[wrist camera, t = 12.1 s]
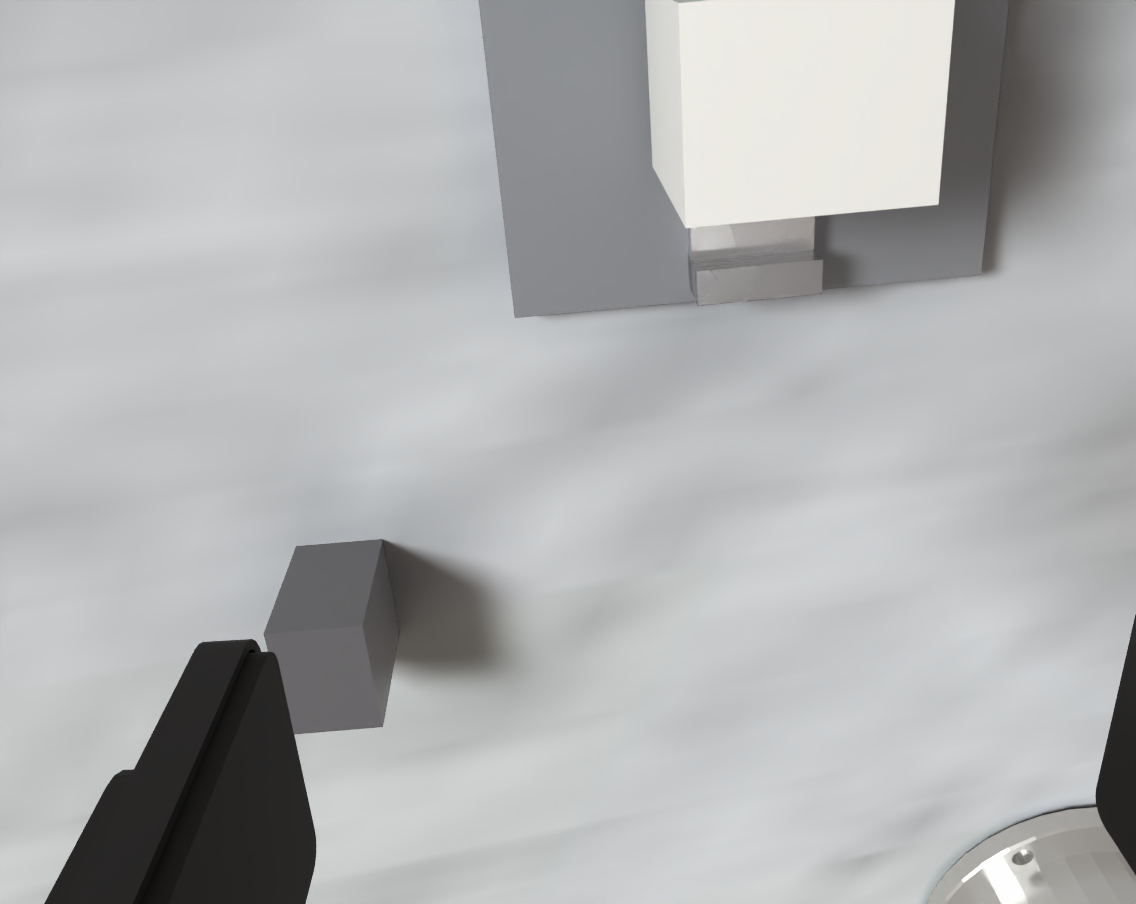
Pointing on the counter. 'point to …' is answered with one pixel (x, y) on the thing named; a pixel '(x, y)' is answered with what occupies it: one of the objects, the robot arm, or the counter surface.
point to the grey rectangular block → (335, 636)
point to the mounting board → (636, 195)
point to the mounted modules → (797, 105)
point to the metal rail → (753, 261)
